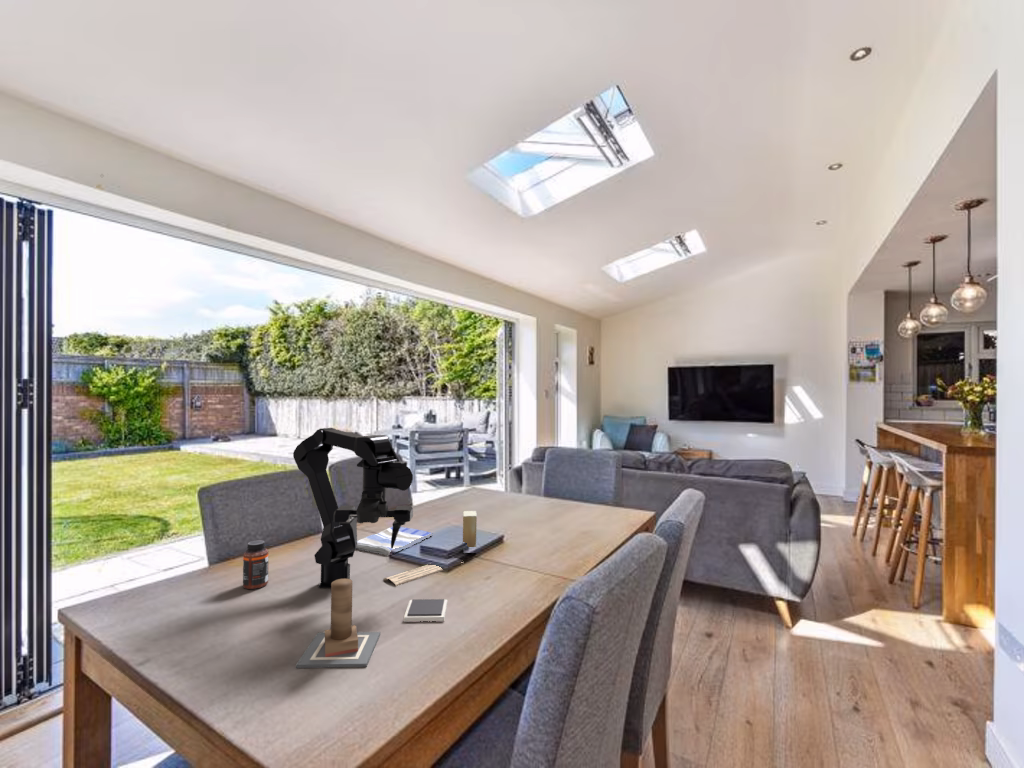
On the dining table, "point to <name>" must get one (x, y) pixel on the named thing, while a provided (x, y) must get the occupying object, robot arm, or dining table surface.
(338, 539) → the robot arm
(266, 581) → the supplement bottle
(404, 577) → the newspaper
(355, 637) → the stamp
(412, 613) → the ink pad
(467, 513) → the skincare box
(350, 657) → the form board
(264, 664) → the dining table surface
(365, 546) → the dish towel
